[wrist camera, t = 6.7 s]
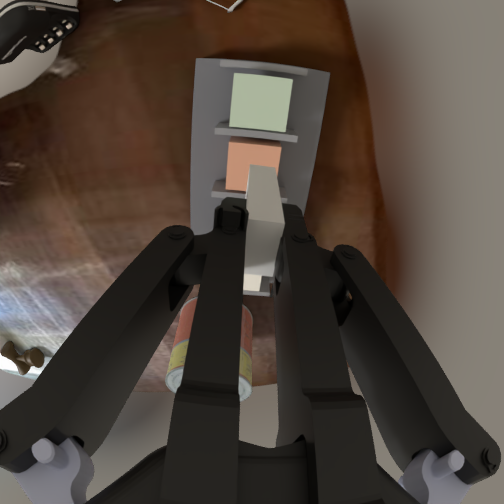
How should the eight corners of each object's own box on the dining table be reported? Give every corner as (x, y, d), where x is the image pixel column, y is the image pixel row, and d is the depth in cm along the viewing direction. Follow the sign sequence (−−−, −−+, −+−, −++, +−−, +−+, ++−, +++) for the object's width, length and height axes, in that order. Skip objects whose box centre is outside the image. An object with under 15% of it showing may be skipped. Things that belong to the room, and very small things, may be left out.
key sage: (231, 121, 23) (229, 126, 21) (236, 72, 20) (234, 73, 18) (282, 126, 23) (285, 132, 21) (289, 78, 20) (292, 79, 18)
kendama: (53, 360, 58) (21, 360, 61) (31, 336, 53) (1, 340, 56) (46, 378, 53) (14, 375, 56) (21, 354, 48) (-7, 354, 51)
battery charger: (43, 61, 20) (-28, 76, 11) (36, 38, 18) (-33, 47, 8) (87, 28, 19) (16, 25, 9) (79, 4, 16) (10, -5, 7)
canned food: (175, 331, 45) (161, 394, 36) (187, 285, 39) (170, 357, 29) (239, 347, 47) (236, 410, 38) (264, 306, 41) (265, 378, 31)
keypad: (194, 266, 37) (188, 290, 33) (200, 59, 22) (189, 57, 18) (286, 273, 37) (289, 298, 34) (325, 72, 23) (337, 73, 19)
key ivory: (222, 273, 34) (220, 288, 32) (223, 243, 32) (221, 257, 30) (259, 276, 34) (259, 291, 32) (263, 246, 32) (264, 260, 30)
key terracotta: (227, 179, 27) (225, 189, 25) (231, 135, 25) (228, 142, 23) (273, 183, 27) (274, 193, 25) (279, 140, 25) (281, 147, 23)
